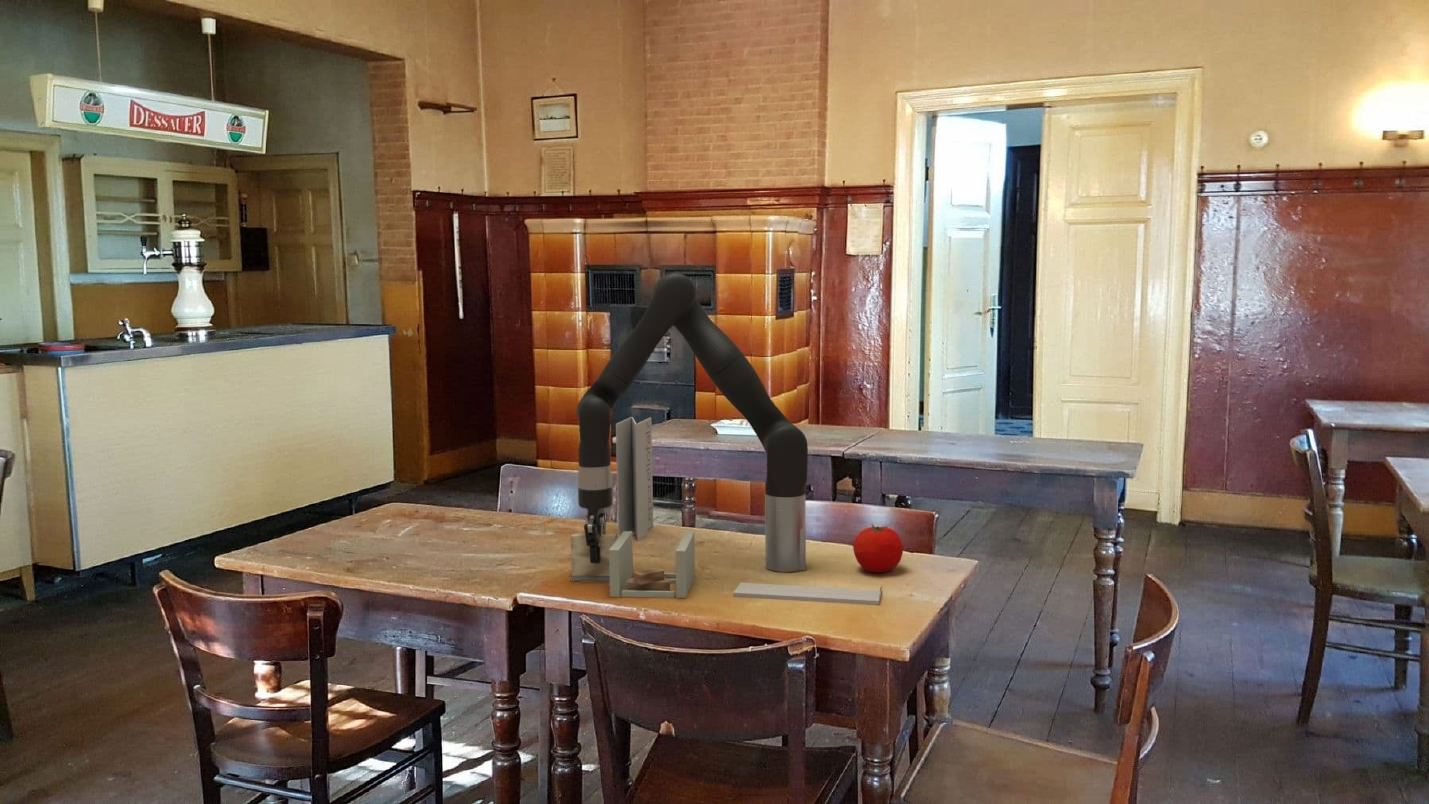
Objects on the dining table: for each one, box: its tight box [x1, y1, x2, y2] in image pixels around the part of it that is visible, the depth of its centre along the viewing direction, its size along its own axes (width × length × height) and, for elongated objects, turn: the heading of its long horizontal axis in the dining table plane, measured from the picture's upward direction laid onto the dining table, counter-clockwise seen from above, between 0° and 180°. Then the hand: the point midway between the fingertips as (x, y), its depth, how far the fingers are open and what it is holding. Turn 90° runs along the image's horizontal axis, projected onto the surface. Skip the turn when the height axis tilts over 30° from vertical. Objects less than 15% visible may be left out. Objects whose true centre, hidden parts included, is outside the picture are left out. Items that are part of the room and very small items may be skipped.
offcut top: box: [632, 567, 665, 585], centre depth 219 cm, size 6×3×2 cm, turn 127°
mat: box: [570, 576, 610, 583], centre depth 233 cm, size 10×9×1 cm
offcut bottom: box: [626, 578, 671, 591], centre depth 220 cm, size 9×3×3 cm, turn 91°
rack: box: [609, 530, 696, 599], centre depth 224 cm, size 16×16×10 cm
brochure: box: [615, 416, 654, 541], centre depth 271 cm, size 14×6×30 cm, turn 168°
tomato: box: [852, 523, 904, 573], centre depth 235 cm, size 11×13×10 cm
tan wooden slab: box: [570, 533, 618, 577], centre depth 232 cm, size 10×2×9 cm, turn 84°
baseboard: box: [732, 582, 883, 606], centre depth 218 cm, size 30×3×10 cm
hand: (596, 560), depth 232 cm, fingers closed on tan wooden slab, 2 cm apart
